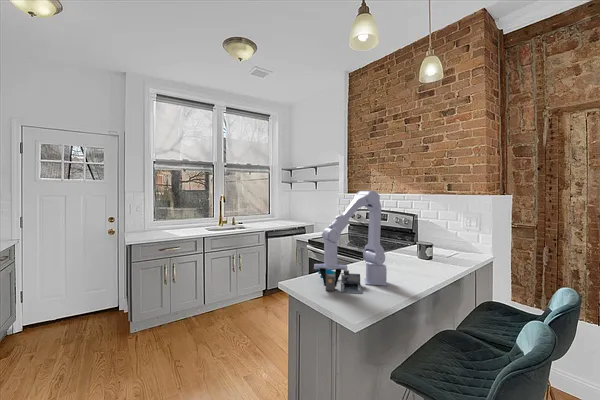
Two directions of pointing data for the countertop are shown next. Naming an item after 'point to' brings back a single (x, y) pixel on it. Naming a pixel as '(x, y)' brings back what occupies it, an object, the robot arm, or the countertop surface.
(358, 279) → the motor mount
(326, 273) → the gear
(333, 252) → the robot arm
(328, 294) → the countertop surface
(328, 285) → the grey knobbed block
